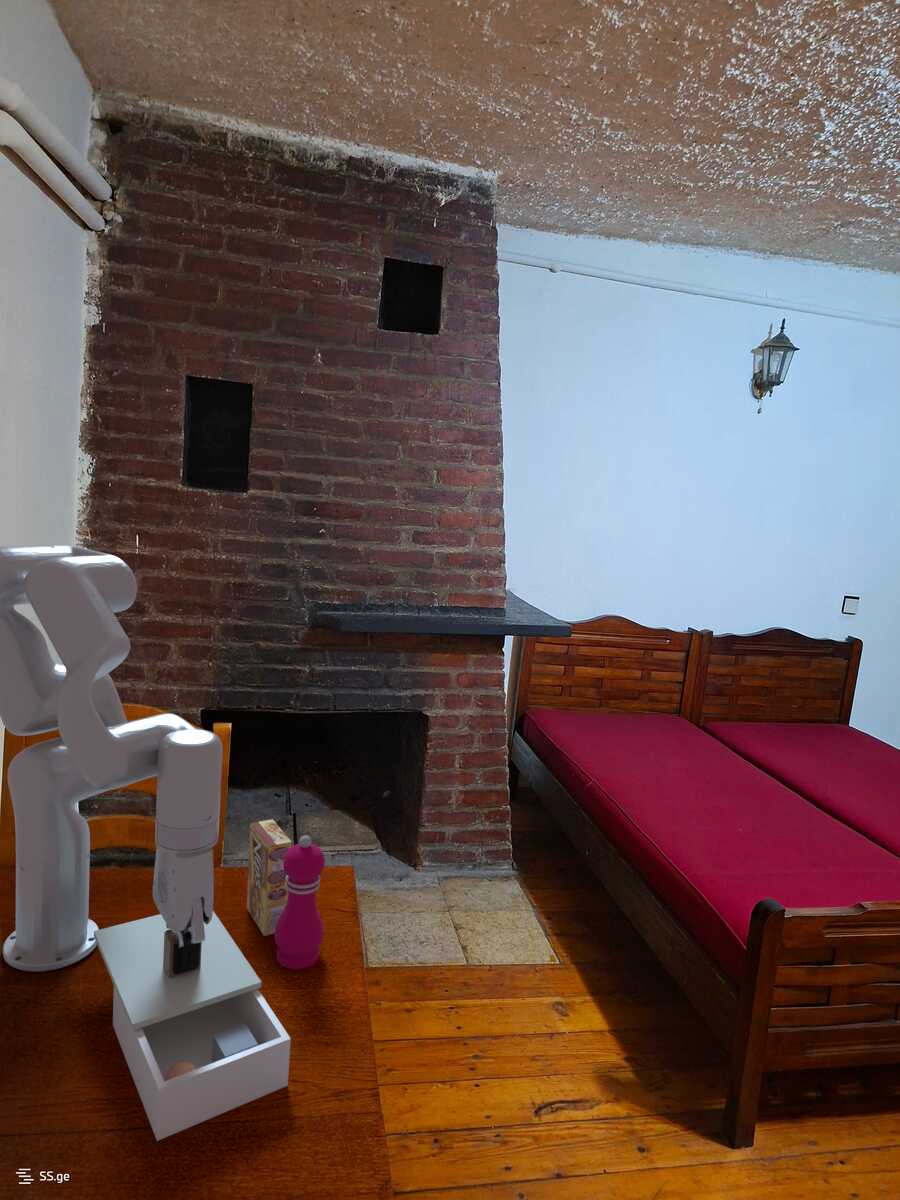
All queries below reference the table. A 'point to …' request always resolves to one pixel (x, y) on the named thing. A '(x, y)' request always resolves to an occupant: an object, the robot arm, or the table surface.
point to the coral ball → (179, 1069)
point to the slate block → (232, 1042)
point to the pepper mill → (300, 907)
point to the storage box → (203, 1061)
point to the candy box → (267, 874)
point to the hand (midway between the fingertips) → (182, 962)
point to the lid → (170, 969)
